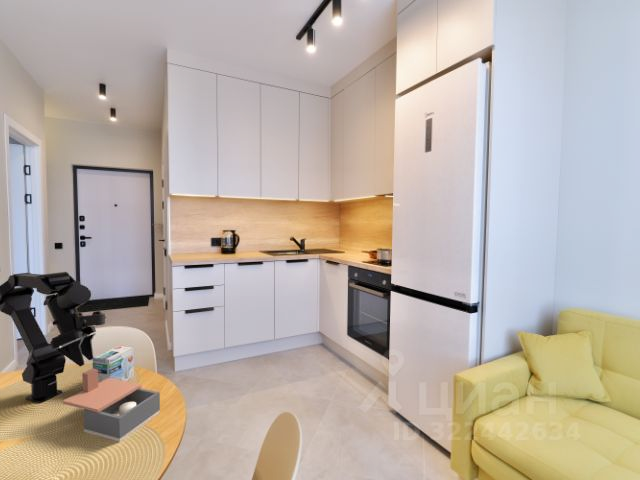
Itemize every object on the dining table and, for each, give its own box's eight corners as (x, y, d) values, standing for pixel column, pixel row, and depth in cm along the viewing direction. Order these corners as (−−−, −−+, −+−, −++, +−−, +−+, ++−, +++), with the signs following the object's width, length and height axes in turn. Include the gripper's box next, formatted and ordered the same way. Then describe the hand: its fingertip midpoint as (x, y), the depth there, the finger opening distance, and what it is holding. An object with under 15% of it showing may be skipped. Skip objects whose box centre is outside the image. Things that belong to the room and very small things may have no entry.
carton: (84, 431, 84) (83, 409, 84) (127, 404, 97) (126, 385, 96) (119, 441, 81) (119, 418, 80) (159, 412, 93) (159, 392, 93)
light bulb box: (109, 392, 103) (108, 359, 103) (91, 390, 105) (91, 357, 104) (135, 377, 114) (134, 347, 113) (118, 374, 115) (118, 345, 114)
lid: (62, 403, 86) (62, 381, 85) (109, 380, 99) (108, 360, 98) (98, 412, 82) (97, 389, 82) (141, 387, 95) (141, 367, 95)
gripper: (87, 301, 89) (110, 353, 89) (103, 300, 106) (122, 344, 106) (39, 320, 85) (63, 375, 85) (64, 316, 102) (84, 362, 102)
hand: (87, 362), depth 95 cm, fingers open, 9 cm apart
